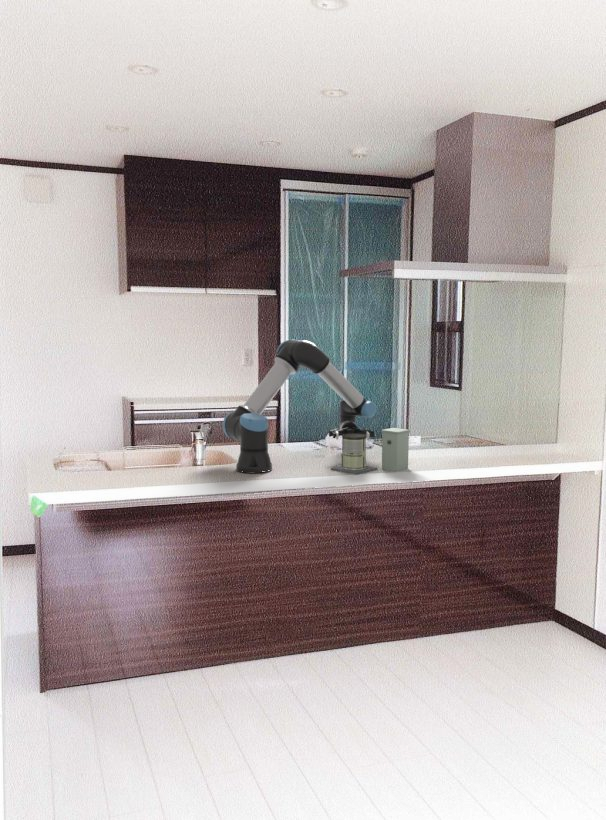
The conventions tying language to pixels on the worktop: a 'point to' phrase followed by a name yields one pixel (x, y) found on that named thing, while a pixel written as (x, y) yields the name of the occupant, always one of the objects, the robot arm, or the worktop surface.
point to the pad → (367, 469)
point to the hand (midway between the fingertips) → (353, 436)
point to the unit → (395, 449)
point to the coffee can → (354, 451)
